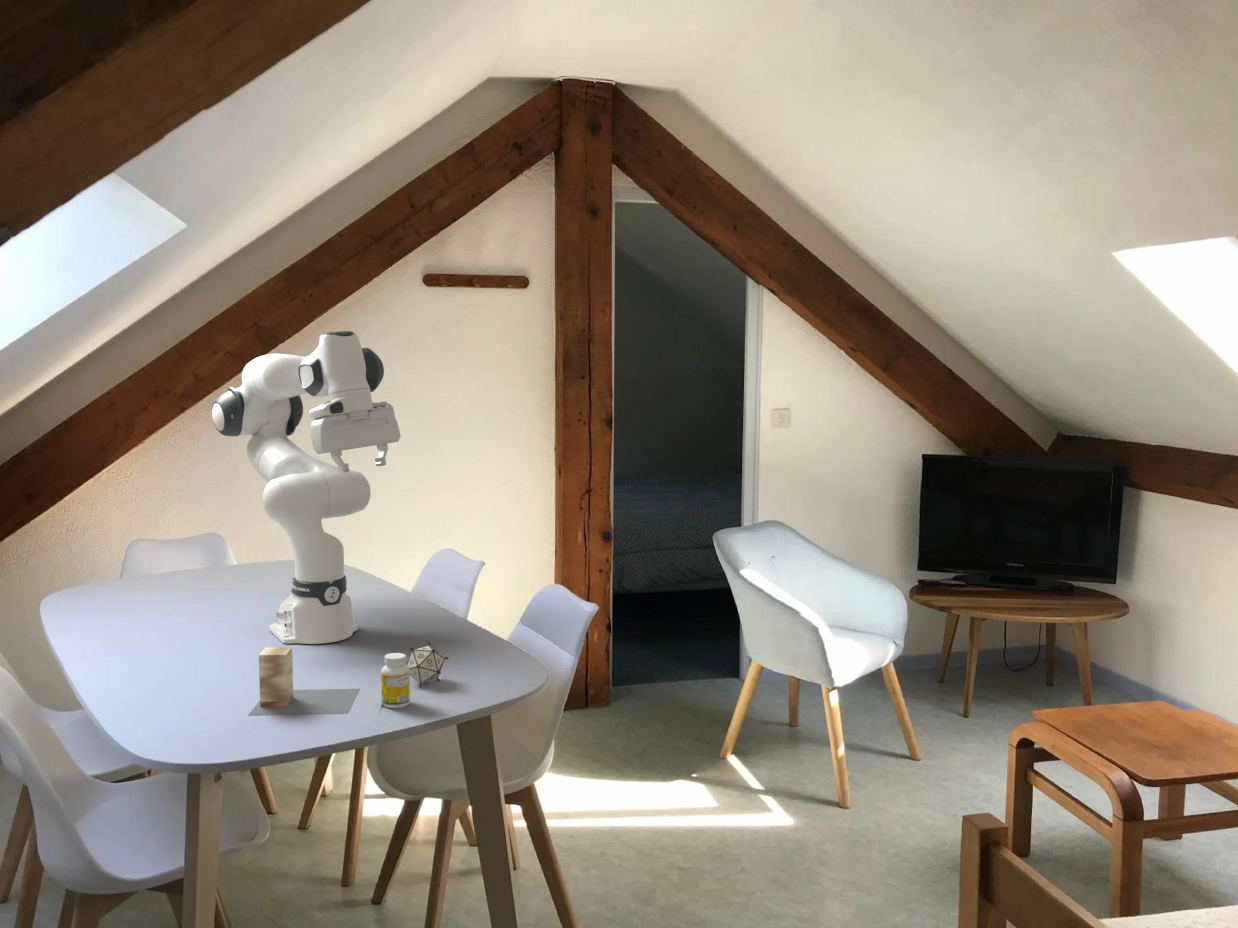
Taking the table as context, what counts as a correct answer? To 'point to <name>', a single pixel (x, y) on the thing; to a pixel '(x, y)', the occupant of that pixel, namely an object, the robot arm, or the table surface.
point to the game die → (425, 664)
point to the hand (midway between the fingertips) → (363, 469)
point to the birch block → (276, 676)
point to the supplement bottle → (395, 681)
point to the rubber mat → (312, 703)
